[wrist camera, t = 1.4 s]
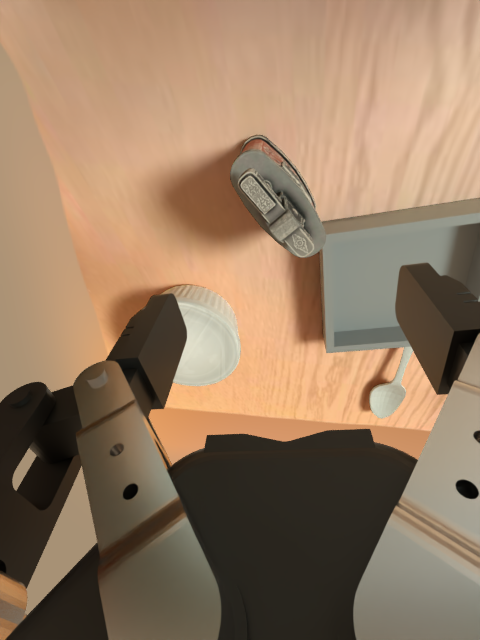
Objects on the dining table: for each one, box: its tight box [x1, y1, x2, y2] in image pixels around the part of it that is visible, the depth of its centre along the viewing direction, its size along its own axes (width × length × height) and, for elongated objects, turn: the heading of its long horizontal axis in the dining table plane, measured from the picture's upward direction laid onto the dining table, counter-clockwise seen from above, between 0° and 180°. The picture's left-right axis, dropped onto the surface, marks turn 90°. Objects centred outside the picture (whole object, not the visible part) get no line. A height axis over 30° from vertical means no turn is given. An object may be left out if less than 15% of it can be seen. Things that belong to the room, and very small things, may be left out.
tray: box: [319, 198, 480, 353], centre depth 29 cm, size 14×13×3 cm
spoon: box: [369, 347, 413, 418], centre depth 35 cm, size 4×21×2 cm, turn 0°
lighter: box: [230, 135, 326, 258], centre depth 22 cm, size 8×3×10 cm, turn 43°
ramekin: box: [142, 285, 241, 386], centre depth 34 cm, size 11×11×5 cm
